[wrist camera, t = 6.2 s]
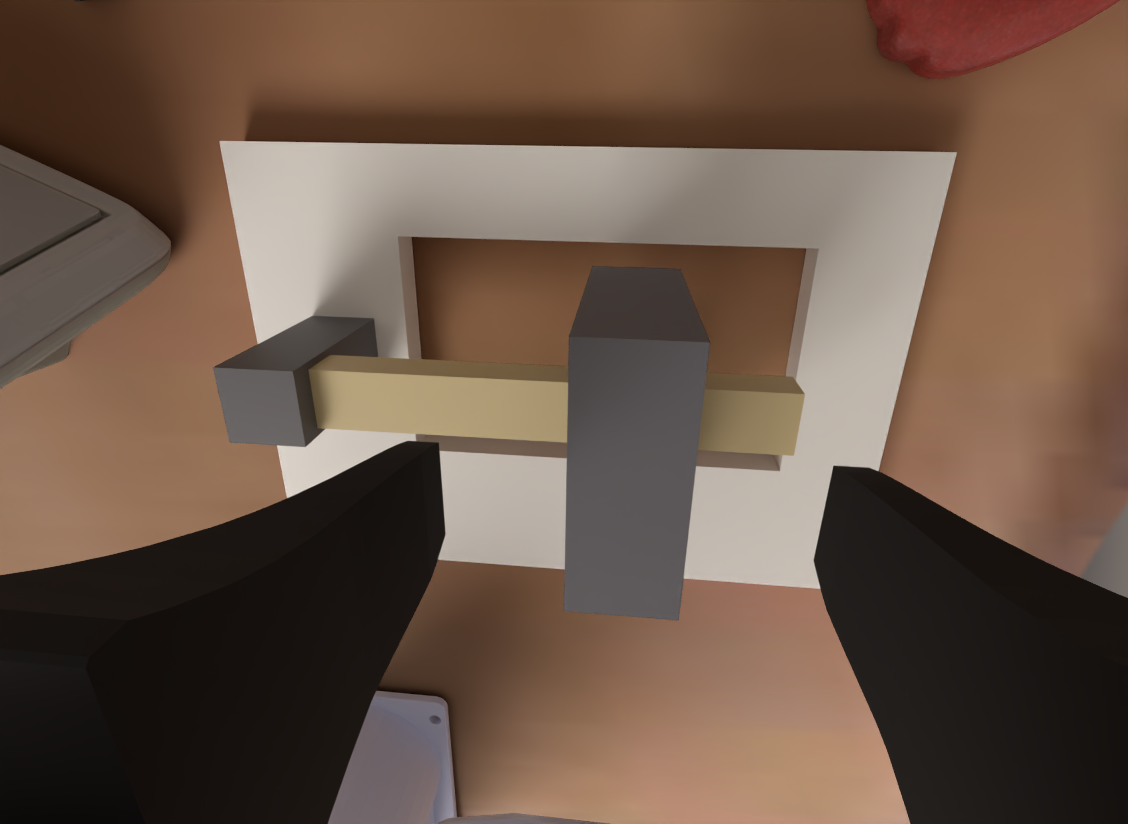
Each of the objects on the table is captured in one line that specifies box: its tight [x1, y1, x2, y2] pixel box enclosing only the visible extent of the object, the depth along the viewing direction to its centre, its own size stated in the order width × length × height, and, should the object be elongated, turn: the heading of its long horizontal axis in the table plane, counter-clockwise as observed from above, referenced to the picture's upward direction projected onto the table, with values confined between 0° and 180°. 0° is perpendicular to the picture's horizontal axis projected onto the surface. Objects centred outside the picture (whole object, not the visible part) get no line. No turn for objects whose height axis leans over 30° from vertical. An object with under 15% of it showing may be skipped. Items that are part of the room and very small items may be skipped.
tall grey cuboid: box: [564, 266, 710, 620], centre depth 15 cm, size 6×2×7 cm, turn 179°
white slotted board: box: [213, 141, 957, 589], centre depth 18 cm, size 14×20×6 cm
